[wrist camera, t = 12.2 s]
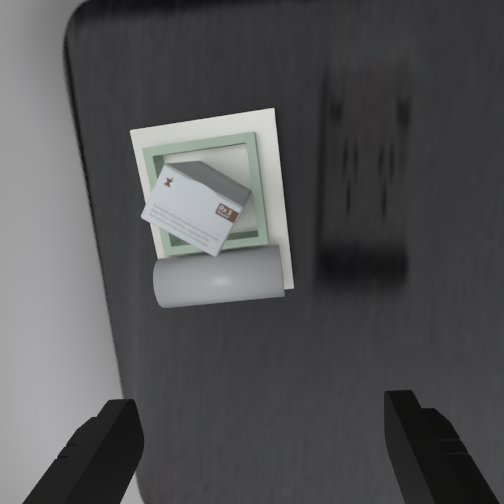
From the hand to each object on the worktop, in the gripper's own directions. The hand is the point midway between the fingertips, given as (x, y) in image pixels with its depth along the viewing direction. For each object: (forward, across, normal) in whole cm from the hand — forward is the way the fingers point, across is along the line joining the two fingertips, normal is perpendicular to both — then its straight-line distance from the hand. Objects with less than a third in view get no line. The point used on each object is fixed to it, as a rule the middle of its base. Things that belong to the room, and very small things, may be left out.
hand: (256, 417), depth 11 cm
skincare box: (+25, +5, -5) cm, 26 cm away
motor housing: (+28, +6, -3) cm, 29 cm away
